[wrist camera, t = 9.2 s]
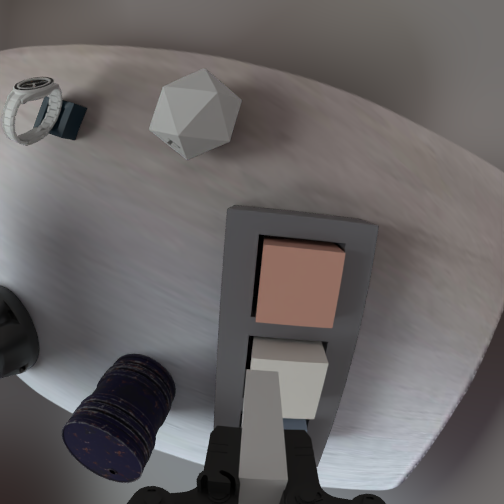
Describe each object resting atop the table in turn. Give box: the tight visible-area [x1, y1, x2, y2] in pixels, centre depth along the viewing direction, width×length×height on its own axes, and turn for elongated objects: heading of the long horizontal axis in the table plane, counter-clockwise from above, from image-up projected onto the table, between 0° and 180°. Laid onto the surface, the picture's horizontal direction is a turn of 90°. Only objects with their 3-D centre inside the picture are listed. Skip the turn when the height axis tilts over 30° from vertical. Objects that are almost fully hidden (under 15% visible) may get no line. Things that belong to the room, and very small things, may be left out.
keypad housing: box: [214, 205, 379, 467], centre depth 34 cm, size 14×32×6 cm, turn 175°
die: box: [149, 68, 242, 160], centre depth 28 cm, size 8×9×10 cm
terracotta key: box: [256, 236, 345, 328], centre depth 29 cm, size 7×7×5 cm
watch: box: [2, 77, 87, 146], centre depth 27 cm, size 6×8×11 cm
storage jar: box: [62, 354, 175, 483], centre depth 32 cm, size 10×10×15 cm
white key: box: [250, 336, 329, 419], centre depth 30 cm, size 7×7×5 cm
